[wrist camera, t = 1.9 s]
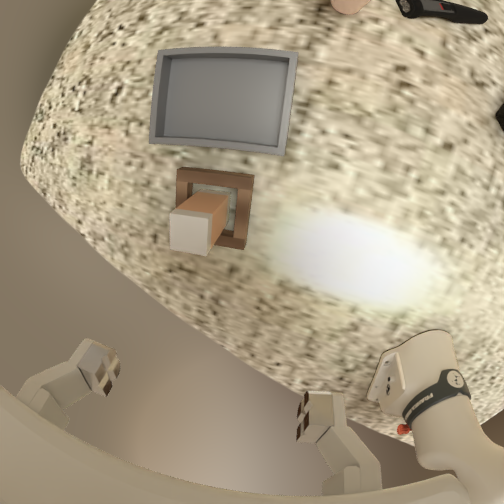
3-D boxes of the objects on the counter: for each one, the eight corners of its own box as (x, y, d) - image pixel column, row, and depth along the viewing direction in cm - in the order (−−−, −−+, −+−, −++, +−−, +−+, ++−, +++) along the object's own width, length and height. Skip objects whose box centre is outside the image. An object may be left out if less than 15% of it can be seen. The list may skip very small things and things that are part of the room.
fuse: (228, 221, 36) (206, 256, 27) (199, 217, 36) (169, 249, 27) (231, 192, 34) (208, 218, 25) (201, 188, 34) (169, 213, 26)
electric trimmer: (482, 30, 16) (493, 27, 13) (403, 19, 20) (412, 12, 17) (473, 10, 15) (483, 5, 12) (392, -3, 18) (400, -11, 16)
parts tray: (285, 153, 31) (284, 156, 28) (161, 141, 32) (148, 143, 29) (297, 59, 25) (298, 52, 22) (170, 55, 27) (158, 50, 24)
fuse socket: (246, 243, 37) (243, 249, 35) (180, 232, 38) (175, 238, 36) (254, 175, 33) (252, 178, 31) (182, 166, 33) (176, 169, 32)
